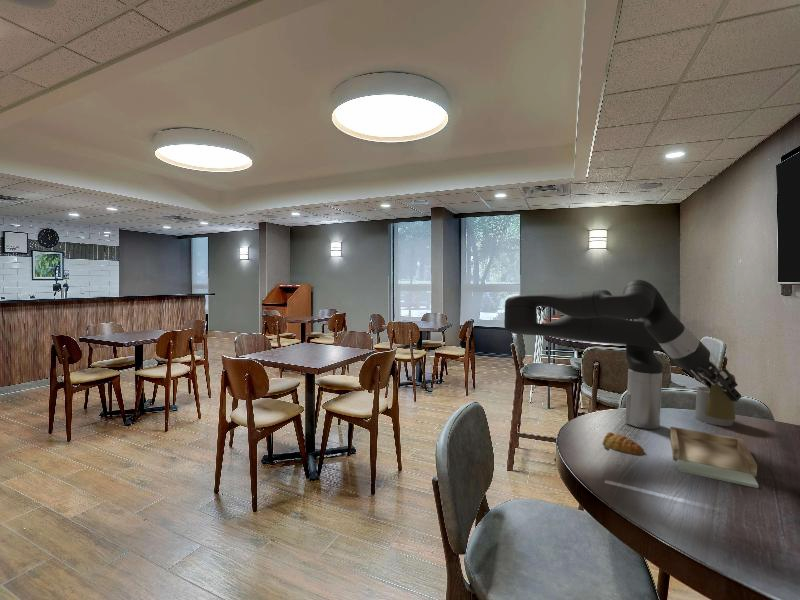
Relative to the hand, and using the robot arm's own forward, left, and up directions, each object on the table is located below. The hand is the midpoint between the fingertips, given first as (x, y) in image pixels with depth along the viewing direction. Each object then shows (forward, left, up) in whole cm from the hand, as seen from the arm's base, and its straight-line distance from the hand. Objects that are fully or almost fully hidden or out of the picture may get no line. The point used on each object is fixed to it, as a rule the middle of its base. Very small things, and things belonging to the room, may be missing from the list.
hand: (728, 395), depth 101 cm
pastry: (-23, -5, -18) cm, 29 cm away
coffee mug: (+2, +39, -18) cm, 43 cm away
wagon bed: (-3, +2, -17) cm, 18 cm away
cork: (-2, -1, -5) cm, 6 cm away
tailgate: (-3, -7, -17) cm, 18 cm away
